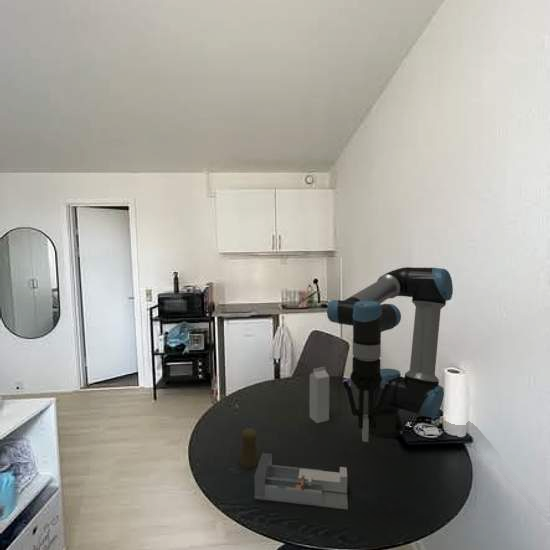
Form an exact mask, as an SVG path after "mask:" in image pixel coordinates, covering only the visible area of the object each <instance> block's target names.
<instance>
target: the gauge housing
mask: <svg viewBox="0 0 550 550" xmlns="http://www.w3.org/2000/svg"><path fill="white" fill-rule="evenodd" d="M272 458H273V457H272V453H270V452H268V453H266V452H262V453H261V456H260V458H259V460H258V464H257V466H256V471H255V473H254V499H255V500H261V501H263V500H264V501H271V502H280V503H286V504H287V503H288V504H296V505H306V506H313V507H322V508H323V507H324V508H332V509H339V510H340V509H342V510H348V509H349V505H348V504H349V503H348V492H347V493H341V492H332V491H323V490H322V482H312V485H311V486H308V481H305V489H301V488H296V484H298V485H301V480H298V477H299V470H300V469H308V470H318V471H324V470H323V469H318V468H317V469H315V468H306V467H298V466H297V467H296V466H286V465H276V464H272V462H273V461H272Z"/></svg>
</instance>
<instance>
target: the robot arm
mask: <svg viewBox="0 0 550 550" xmlns="http://www.w3.org/2000/svg"><path fill="white" fill-rule="evenodd" d="M453 287H454V286H453V280H452V277H451V274H450V272H449V271H448V269H445V268H439V267H410V266H408V267H407V266H406V267H400V268H396V269H393V270H390V271H388V272H386V273H385V274H383V275H381V276H379V278H378V279H377V280H376V282H374V283H372V284H370V285H369V286H367V287H365V288H363V289H361V290H359V291H358V292H356V293H355V294H353V295H351V296H350V297H347V298H345V299H343V300H341V299H333V300H331V301H330V302H329V303H328V305H327V308H326V314H327V315H326V316H327V319H328V320H329V321H330V322H331V323H334V324H339V325H347V326H352V356H353V357H352V364H351V365H352V366H351V367H352V370H351V371H352V372H351V373H350V377H347V378H343V379H342V384H343V386H344V388H345V390H346V392H347V397H348V401H349V406H350V410H351V414H352V415H353V416H357V418H358V419H357V421H358V422H357V424H358V428H359V429H361V438H362V439H361V440H362V442H364V443H369V433H370V434H372V435H373V436H377V437H380V438H381V437H382V438H388V439H389V438H390V439H393V438H397V437H400V436H399V432H400V431H402V430H403V428H404V429H405V424H404V421H403V417H402V415H401V412H400V410H402V411H403V410H404V411H407V412H410V413H414V414H417V415H419V416H422V417H427V418H433V417H434V418H435V416H437V415H438V413H439V411H440V409H441V407H442V404H443V402H444V396H445V395H444V394H445V393H444V392H445V391H444V387H443V386H441V385H440V383H439V382H440V379H439V378H438V377H437V376H436V366H437V364H436V363H437V355H438V354H437V353H438V344H439V343H438V342H439V331H440V320H441V319H440V318H441V311H442V309H443V308H444V307H445V306H446V304H447V302H448V301H450V300H452V297H453V295H454V294H453V293H454V292H453V291H454V289H453ZM396 297H407V298H411V303H413V305H414V306H415V309H414V310H415V312H414V320H413V323H414V324H413V332H412V344H411V355H410V362H409V363H410V364H409V370H408V371H407V372H405V373H404V376H401V372H400V370H398V369H394V368H381V359H380V358H381V357H382V356H381V354H382V353H381V350H382V345H381V343H382V340H381V339H382V332H385V331H390V330H393V329H394V328H395V327H397V326H398V325H399V324H400V322H401V321H402V314H401V313H402V312H401V311H400V309H399V308H398V307H397V306H396V305H394V304H392V303H384V302H385V301H387V300H388V299H394V298H396ZM382 303H383V304H382ZM352 382H353V385H355V387H356V388H357V390H358V401H357V402H358V404H357V405H358V408H356V407H357V406H356V403H355V398H354V395H353V390H352ZM365 391H367V411H366V414H364V402H365V401H364V400H365Z"/></svg>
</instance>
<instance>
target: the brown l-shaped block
mask: <svg viewBox="0 0 550 550" xmlns="http://www.w3.org/2000/svg"><path fill="white" fill-rule="evenodd" d="M296 488H301V489H305V475H302V478H301V485H298V484H296Z"/></svg>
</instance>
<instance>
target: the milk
mask: <svg viewBox="0 0 550 550" xmlns="http://www.w3.org/2000/svg"><path fill="white" fill-rule="evenodd" d="M309 418H310V419H311V420H312V421H313V422H315V423H316V424H320V423H324V422H328V421H330V375H329V374H328V372H327V370H326V366H321V367H317V368H313V370H312V372H311V373H310V374H309Z"/></svg>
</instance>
